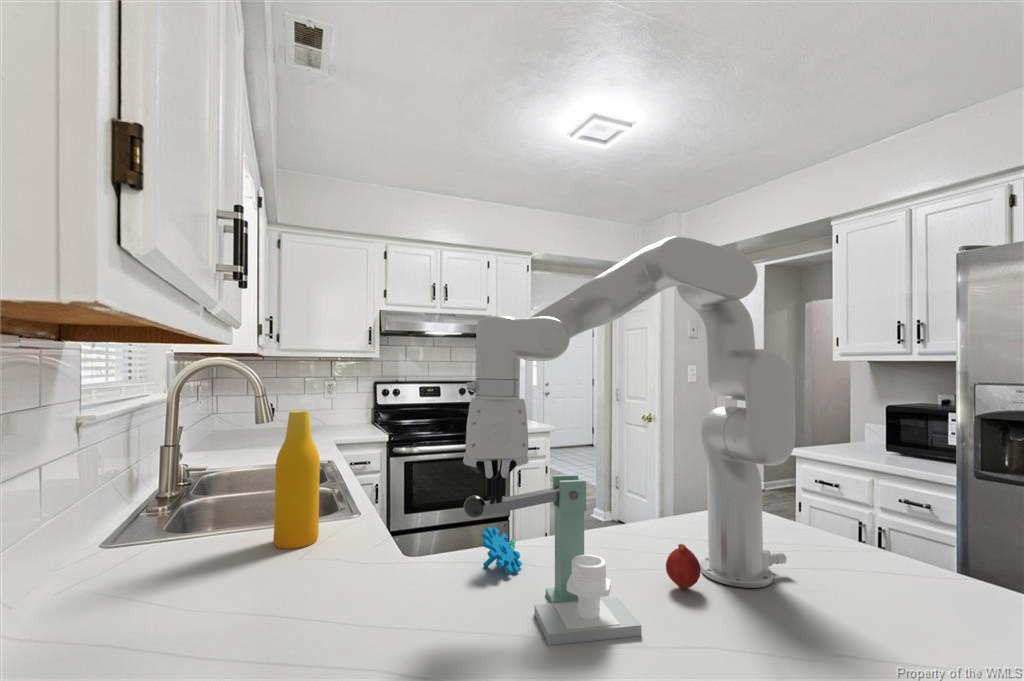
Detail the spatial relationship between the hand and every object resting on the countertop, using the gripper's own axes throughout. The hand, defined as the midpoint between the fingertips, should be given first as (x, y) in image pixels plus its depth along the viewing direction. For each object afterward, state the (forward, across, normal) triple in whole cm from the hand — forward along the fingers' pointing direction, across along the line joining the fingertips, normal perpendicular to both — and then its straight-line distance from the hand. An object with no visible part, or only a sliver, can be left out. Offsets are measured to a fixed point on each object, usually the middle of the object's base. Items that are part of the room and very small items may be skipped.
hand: (495, 500), depth 83 cm
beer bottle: (+18, -39, +37) cm, 57 cm away
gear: (+17, +4, +15) cm, 23 cm away
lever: (+1, +5, 0) cm, 5 cm away
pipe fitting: (+16, +14, -9) cm, 22 cm away
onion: (+17, +34, 0) cm, 38 cm away
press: (+17, +13, -6) cm, 22 cm away
